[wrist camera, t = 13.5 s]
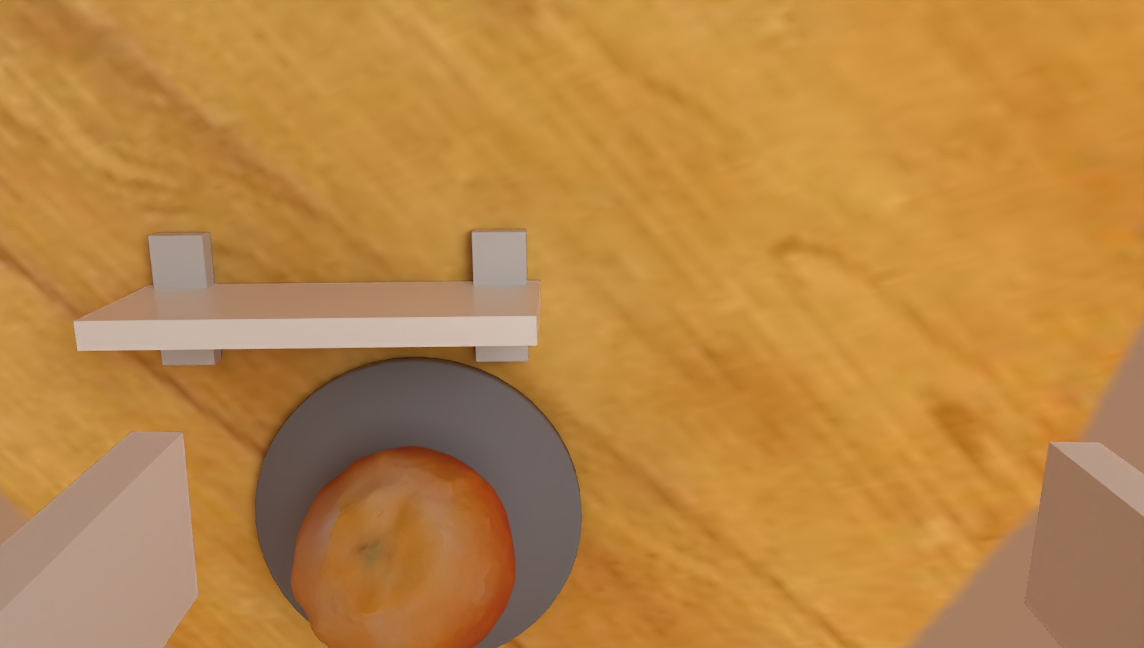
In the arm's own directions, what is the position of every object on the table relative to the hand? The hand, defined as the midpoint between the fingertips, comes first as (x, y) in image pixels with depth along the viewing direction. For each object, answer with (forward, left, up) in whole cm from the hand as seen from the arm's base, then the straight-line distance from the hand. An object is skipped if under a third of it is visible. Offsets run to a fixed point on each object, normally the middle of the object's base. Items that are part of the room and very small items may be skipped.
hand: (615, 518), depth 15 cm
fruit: (+10, -7, -23) cm, 26 cm away
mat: (+10, -7, -23) cm, 26 cm away
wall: (+1, -9, -23) cm, 25 cm away
